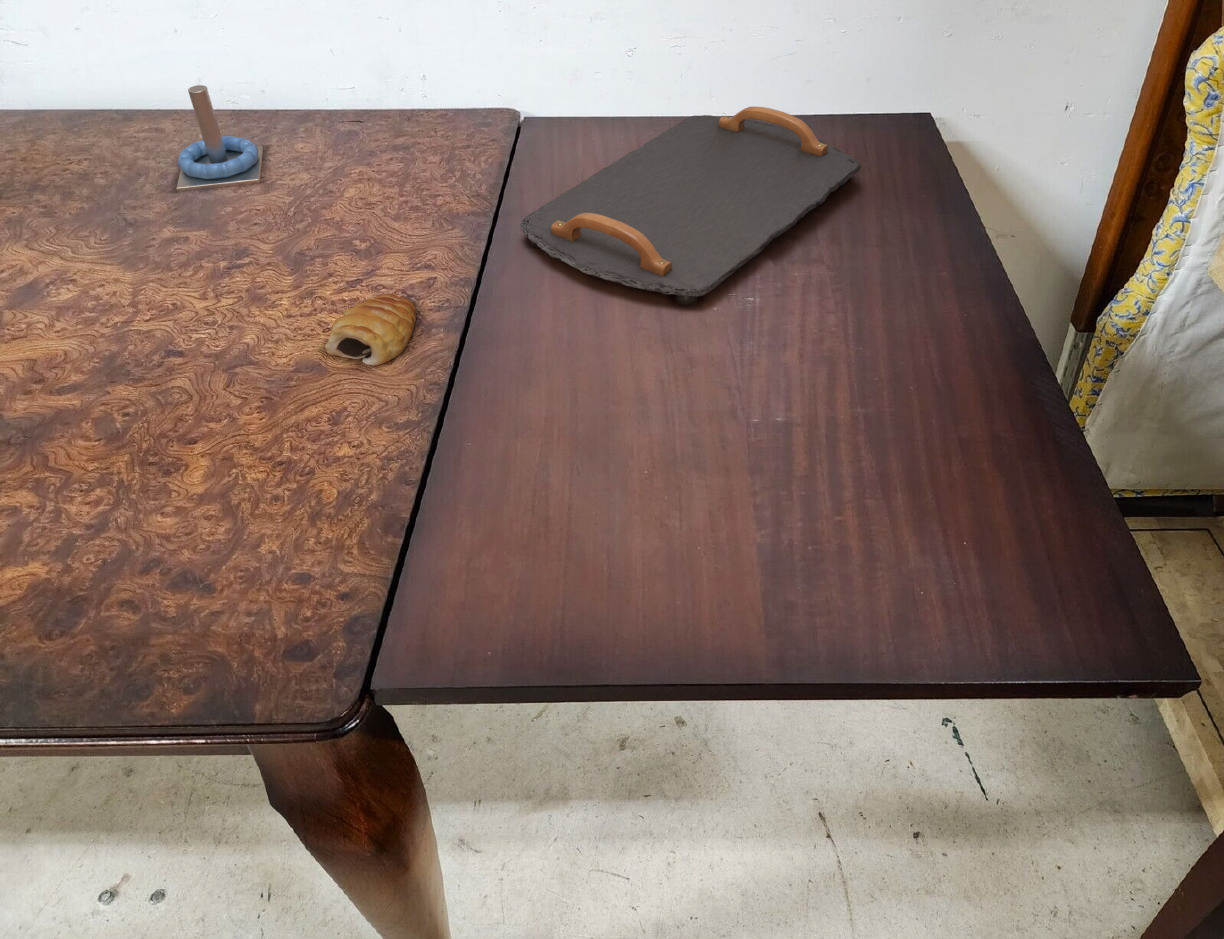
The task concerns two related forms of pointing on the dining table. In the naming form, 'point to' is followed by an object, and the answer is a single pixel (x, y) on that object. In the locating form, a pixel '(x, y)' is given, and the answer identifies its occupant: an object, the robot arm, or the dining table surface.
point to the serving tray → (692, 202)
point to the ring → (218, 169)
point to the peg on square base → (215, 148)
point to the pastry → (373, 329)
